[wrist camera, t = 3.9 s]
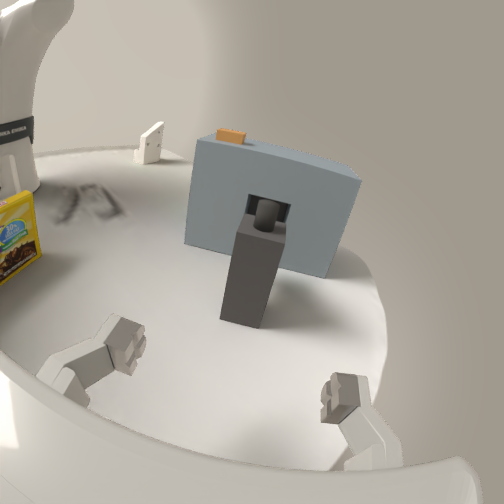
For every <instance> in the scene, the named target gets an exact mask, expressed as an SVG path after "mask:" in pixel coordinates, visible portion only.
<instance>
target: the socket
mask: <svg viewBox="0 0 504 504" xmlns="http://www.w3.org/2000/svg"><path fill="white" fill-rule="evenodd" d="M245 136H246V133H244V132H239V131H234V130H228V129H222V128H221V129H218V130H217V133H214V134H211V135H208V136H206V137H203V138H200V139H198V140H197V144H196V151H195V157H194V164H193V171H192V178H191V186H190V194H189V203H188V211H187V221H186V231H185V241H184V244H188V245H192V246H196V247H200V248H204V249H208V250H212V251H216V252H220V253H224V254H228V255H232V252H233V247H234V242H235V237H236V232H237V229H238V227H239V225H240V222H241V220H242V218H243V215H244V213H246V214H250V215H254V216H256V211H257V207H258V203H259V200H262V199H266V200H271V201H274V202H276V203H278V204H279V205H280V208H279V211H278V215H277V219H276V221H278V222H282V223H286V242H285V247H284V250H283V253H282V257H281V260H280V263H279V266H278V267H280V268H284V269H288V270H292V271H296V272H300V273H304V274H308V275H312V276H316V277H321V278H325V276H326V274H327V271H328V269H329V266H330V264H331V262H332V259H333V257H334V254H335V252H336V249H337V247H338V244H339V242H340V239H341V237H342V234H343V232H344V229H345V226H346V223H347V221H348V218H349V216H350V213H351V210H352V208H353V205H354V202H355V199H356V196H357V193H358V190H359V188H360V185H361V182H362V180H361V179H360V178H359V177H358V176H357V175H356V174H355V173H354V172H353V170H352V169H351V168H350V167H349V166H348V165H345V164H342V163H339V162H336V161H332V160H329V159H325V158H322V157H319V156H316V155H312V154H308V153H305V152H301V151H298V150H294V149H290V148H286V147H282V146H278V145H273V144H270V143H265V142H261V141H256V140H252V139H247V138H245Z"/></svg>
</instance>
